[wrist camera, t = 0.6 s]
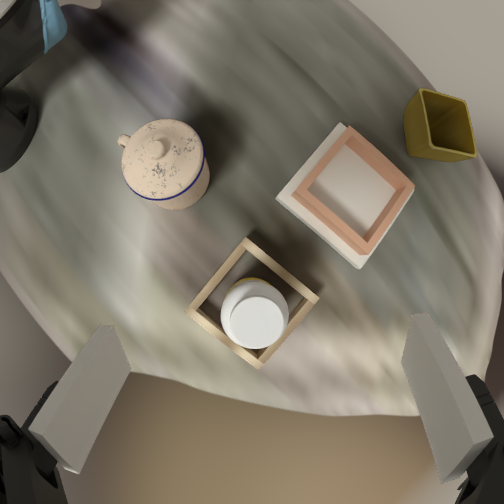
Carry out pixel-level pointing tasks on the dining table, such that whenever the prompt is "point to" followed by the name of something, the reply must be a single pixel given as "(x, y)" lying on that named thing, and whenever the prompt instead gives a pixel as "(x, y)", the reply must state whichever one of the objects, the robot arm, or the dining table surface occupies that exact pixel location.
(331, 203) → the plate
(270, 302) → the supplement bottle
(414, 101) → the flower pot
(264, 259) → the holder ring
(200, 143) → the teacup with lid
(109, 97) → the dining table surface
